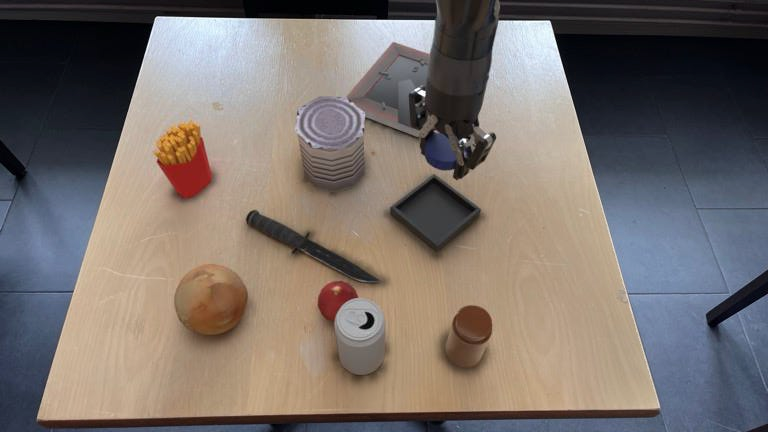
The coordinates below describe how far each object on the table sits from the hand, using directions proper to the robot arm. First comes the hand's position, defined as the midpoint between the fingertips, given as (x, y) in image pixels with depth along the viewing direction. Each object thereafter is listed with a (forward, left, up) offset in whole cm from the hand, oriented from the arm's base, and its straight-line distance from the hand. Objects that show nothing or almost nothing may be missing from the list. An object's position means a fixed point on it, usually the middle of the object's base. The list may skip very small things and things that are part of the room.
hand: (443, 164), depth 78 cm
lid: (0, 0, +3) cm, 3 cm away
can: (+19, +6, -13) cm, 24 cm away
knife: (+8, +20, -13) cm, 25 cm away
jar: (-19, +15, -13) cm, 27 cm away
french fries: (+33, +26, -13) cm, 44 cm away
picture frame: (+25, -18, -13) cm, 34 cm away
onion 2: (-3, +24, -13) cm, 27 cm away
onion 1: (+9, +37, -13) cm, 40 cm away
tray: (0, 0, -13) cm, 13 cm away
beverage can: (-10, +26, -13) cm, 30 cm away
